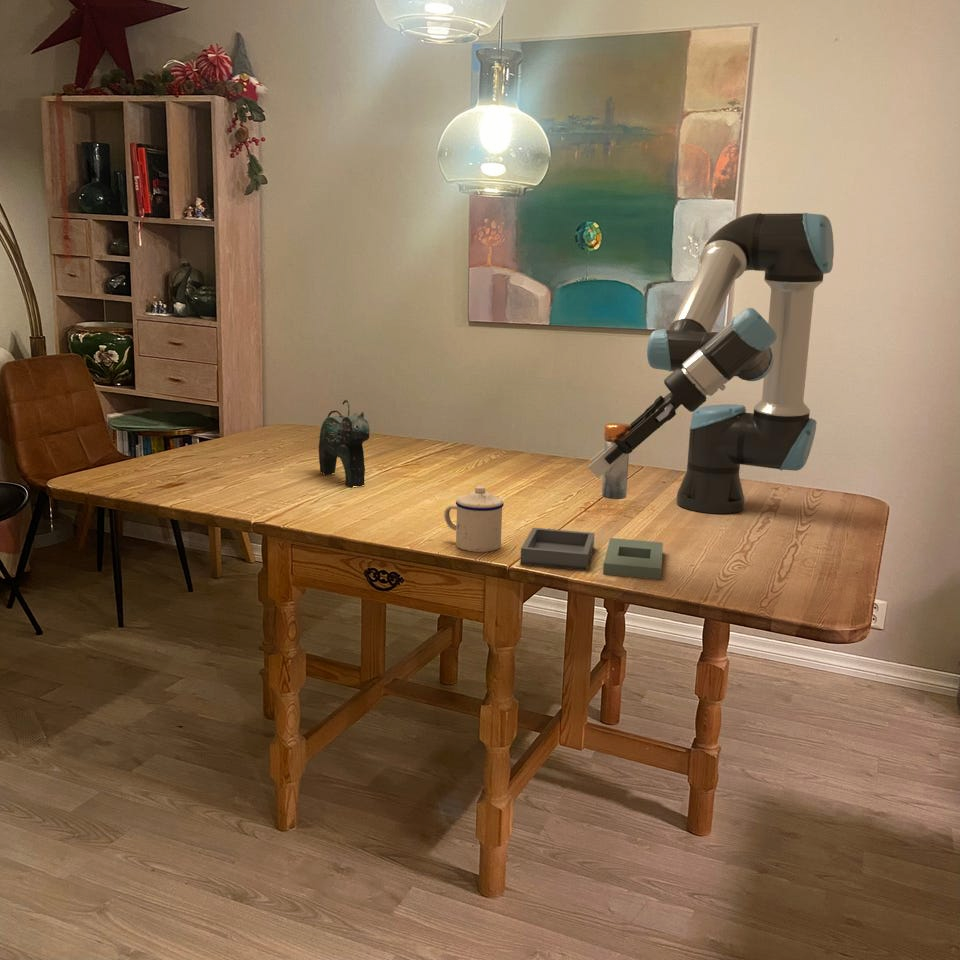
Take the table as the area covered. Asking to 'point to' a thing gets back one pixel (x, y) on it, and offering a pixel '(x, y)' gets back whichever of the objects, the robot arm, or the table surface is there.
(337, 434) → the ceramic cat
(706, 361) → the robot arm
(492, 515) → the teacup with lid
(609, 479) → the pepper shaker
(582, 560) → the tray
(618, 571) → the green holder base
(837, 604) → the table surface
